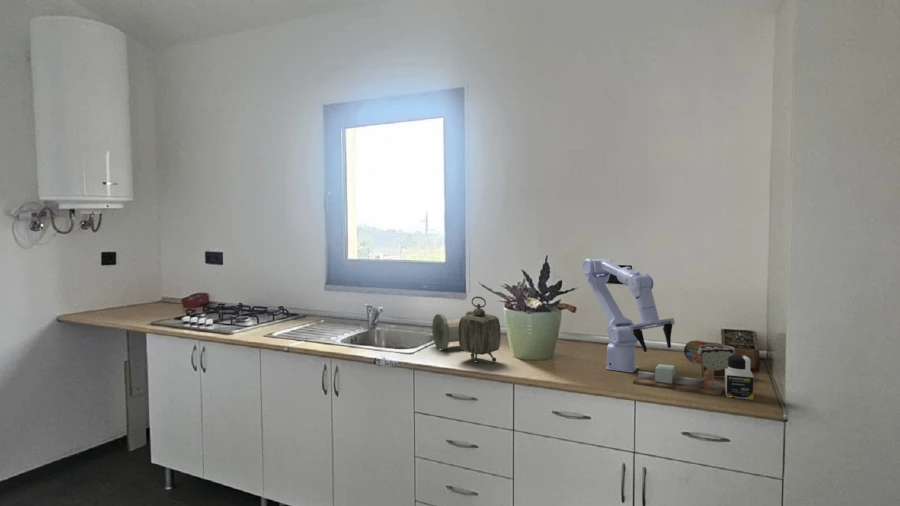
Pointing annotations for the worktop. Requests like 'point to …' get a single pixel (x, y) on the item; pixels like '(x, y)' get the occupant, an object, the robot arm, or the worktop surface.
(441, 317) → the spool
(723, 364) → the food container
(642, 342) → the robot arm
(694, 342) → the tin
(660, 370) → the pale green block
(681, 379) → the rail board
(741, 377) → the medicine bottle
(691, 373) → the worktop surface
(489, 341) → the tabletop clock
